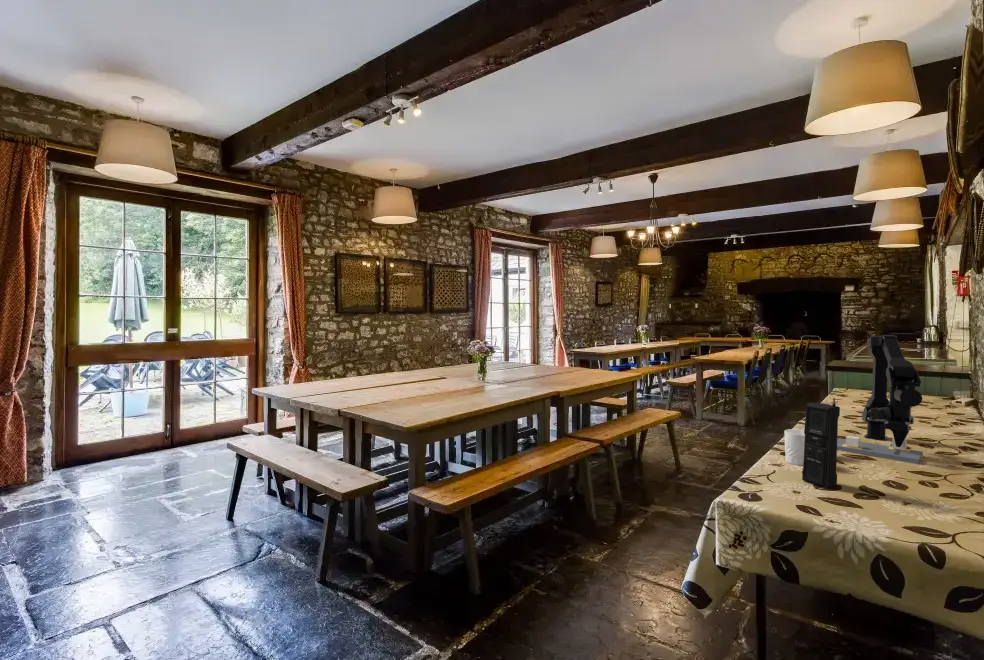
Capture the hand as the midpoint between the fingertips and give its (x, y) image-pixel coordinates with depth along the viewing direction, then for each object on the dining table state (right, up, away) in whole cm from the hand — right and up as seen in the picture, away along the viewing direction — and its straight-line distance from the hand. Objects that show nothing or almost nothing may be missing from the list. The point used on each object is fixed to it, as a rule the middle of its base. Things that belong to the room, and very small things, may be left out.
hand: (898, 446), depth 169 cm
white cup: (-40, -3, -8) cm, 41 cm away
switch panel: (-5, -3, +4) cm, 7 cm away
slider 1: (-12, -1, +5) cm, 13 cm away
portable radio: (-45, -4, -27) cm, 53 cm away
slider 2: (+2, -1, +2) cm, 3 cm away
